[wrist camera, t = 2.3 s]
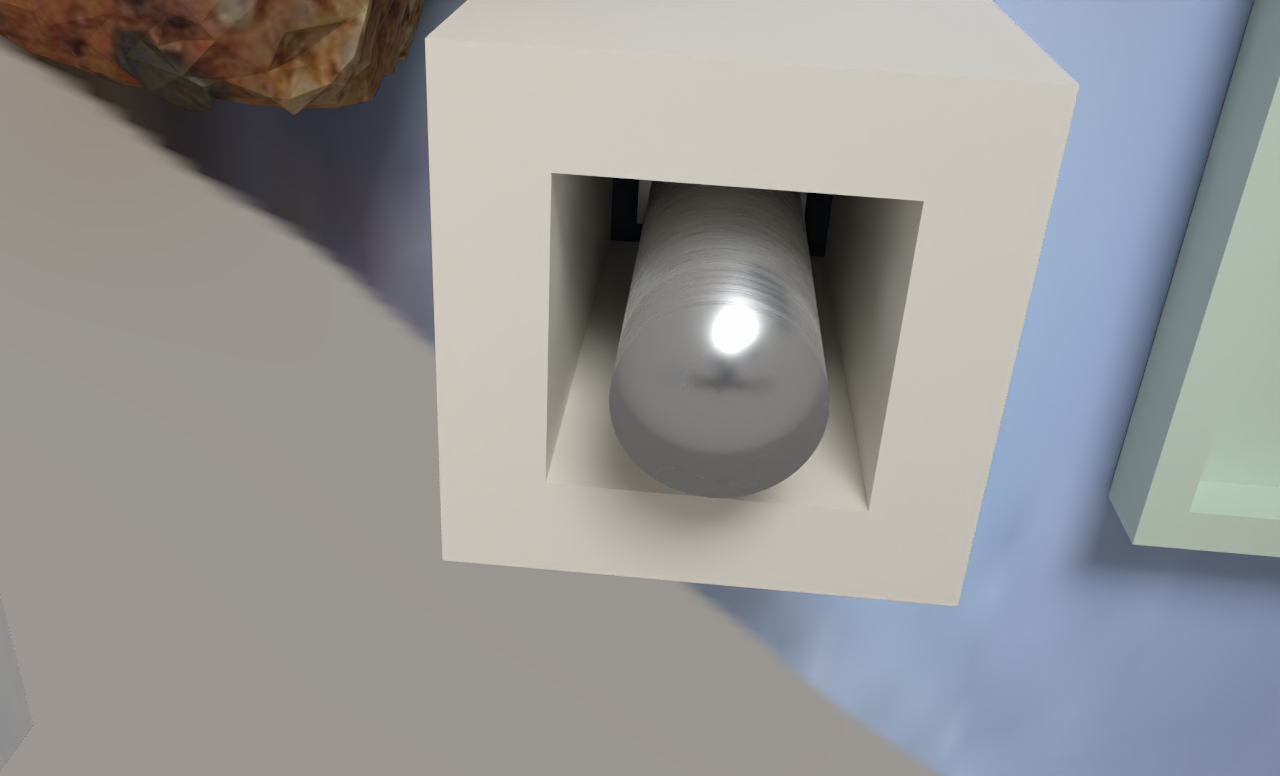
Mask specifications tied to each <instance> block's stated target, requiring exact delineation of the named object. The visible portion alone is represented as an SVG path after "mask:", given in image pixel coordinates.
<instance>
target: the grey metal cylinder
mask: <svg viewBox="0 0 1280 776" xmlns="http://www.w3.org/2000/svg"><path fill="white" fill-rule="evenodd" d="M806 199H807V192H797V191H784V190H771V189H757V188H744V187H731V186H718V185H705V184H692V183H679V182H665V181H652V180H639V193H638V211H637V223H641V224H643V228H642V233H641V238H640V243H639V248H638V253H637V258H636V262H635V267H634V272H633V277H632V282H631V287H630V292H629V297H628V302H627V307H626V312H625V316H624V321H623V326H622V331H621V336H620V341H619V346H618V351H617V356H616V361H615V366H614V371H613V375H612V380H611V386H610V394H609V410H610V415H611V421H612V424H613V427H614V430H615V433H616V435H617V437H618V439H619V441H620V443H621V445H622V447H623V448H624V450H625V451H626V453H627V454H628V456H629V457H630V458H631V459H632V460H633V461H634V462H635V463H636V465H637V466H639V467H640V468H641V469H642V470H643V471H644V472H645V473H647V474H648V475H649V476H651V477H652V478H654V479H655V480H657V481H658V482H660V483H662V484H664V485H666V486H668V487H670V488H673V489H675V490H678V491H681V492H684V493H687V494H691V495H695V496H702V497H709V498H730V497H740V496H745V495H750V494H754V493H757V492H760V491H763V490H766V489H768V488H770V487H772V486H775V485H777V484H778V483H780V482H782V481H784V480H785V479H787V478H788V477H790V476H791V475H792V474H794V473H795V472H796V471H797V470H799V469H800V468H801V467H802V466H803V465H804V464H805V463H806V462H807V461H808V459H809V458H810V457H811V455H812V454H813V453H814V451H815V450H816V448H817V446H818V445H819V443H820V441H821V439H822V437H823V434H824V432H825V429H826V426H827V422H828V417H829V408H830V398H829V387H828V380H827V373H826V366H825V359H824V352H823V345H822V338H821V331H820V324H819V317H818V310H817V303H816V296H815V289H814V282H813V275H812V268H811V261H810V254H809V247H808V240H807V233H806V226H805V219H804V214H805V206H806Z"/></svg>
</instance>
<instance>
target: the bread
mask: <svg viewBox="0 0 1280 776" xmlns="http://www.w3.org/2000/svg"><path fill="white" fill-rule="evenodd" d="M423 2H424V0H0V34H1V35H3V36H5V37H6V38H8V39H9V40H11V41H13V42H14V43H16V44H17V45H19V46H21V47H22V48H24V49H25V50H27V51H29V52H31V53H34V54H37V55H40V56H43V57H46V58H49V59H52V60H55V61H58V62H61V63H64V64H67V65H70V66H73V67H76V68H79V69H82V70H84V71H87V72H89V73H92V74H94V75H97V76H100V77H102V78H105V79H107V80H110V81H113V82H115V83H118V84H120V85H127V86H135V87H142V88H144V89H147V90H149V91H150V92H152V93H154V94H156V95H158V96H160V97H161V98H163V99H165V100H167V101H169V102H171V103H173V104H175V105H177V106H179V107H181V108H182V109H184V110H192V111H200V112H209V113H210V111H211V109H212V107H213V104H214V102H215V100H216V99H221V100H227V101H233V102H239V103H245V104H250V105H268V106H273V107H279V108H284V109H286V110H287V111H289V112H290V113H291V114H293V115H295V114H297V113H298V112H300V111H301V110H303V109H320V108H342V107H346V106H350V105H354V104H358V103H363V102H367V101H371V100H373V99H374V97H375V95H376V93H377V91H378V89H379V87H380V85H381V83H382V81H383V78H384V76H385V75H388V74H391V73H394V72H395V68H396V65H397V61H398V60H406V57H407V54H408V51H409V48H410V45H411V42H412V38H413V35H414V32H415V29H417V26H418V22H419V19H420V15H421V12H422V8H423Z"/></svg>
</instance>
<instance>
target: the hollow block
mask: <svg viewBox="0 0 1280 776" xmlns="http://www.w3.org/2000/svg"><path fill="white" fill-rule="evenodd" d="M425 55H426V85H427V115H428V145H429V175H430V205H431V235H432V265H433V295H434V325H435V355H436V385H437V414H438V445H439V474H440V503H441V504H440V505H441V533H442V534H441V535H442V560H445V561H456V562H467V563H478V564H489V565H502V566H513V567H523V568H534V569H545V570H557V571H568V572H579V573H590V574H602V575H613V576H624V577H635V578H647V579H657V580H669V581H679V582H691V583H702V584H713V585H724V586H735V587H746V588H758V589H769V590H780V591H791V592H802V593H814V594H825V595H836V596H847V597H858V598H869V599H881V600H892V601H903V602H914V603H925V604H936V605H948V606H958V603H959V599H960V594H961V590H962V586H963V582H964V577H965V573H966V569H967V565H968V560H969V556H970V552H971V547H972V543H973V539H974V535H975V530H976V526H977V522H978V518H979V513H980V509H981V505H982V500H983V496H984V492H985V488H986V483H987V479H988V475H989V471H990V466H991V462H992V458H993V453H994V449H995V445H996V441H997V436H998V432H999V428H1000V423H1001V419H1002V415H1003V411H1004V406H1005V402H1006V398H1007V394H1008V389H1009V385H1010V381H1011V376H1012V372H1013V368H1014V364H1015V359H1016V355H1017V351H1018V347H1019V342H1020V338H1021V334H1022V329H1023V325H1024V321H1025V317H1026V312H1027V308H1028V304H1029V299H1030V295H1031V291H1032V287H1033V282H1034V278H1035V274H1036V270H1037V265H1038V261H1039V257H1040V252H1041V248H1042V244H1043V240H1044V235H1045V231H1046V227H1047V223H1048V218H1049V214H1050V210H1051V205H1052V201H1053V197H1054V193H1055V188H1056V184H1057V180H1058V175H1059V171H1060V167H1061V163H1062V158H1063V154H1064V150H1065V146H1066V141H1067V137H1068V133H1069V128H1070V124H1071V120H1072V116H1073V111H1074V107H1075V103H1076V99H1077V94H1078V90H1079V86H1080V85H1079V84H1078V83H1077V82H1076V81H1075V80H1074V79H1073V78H1072V77H1071V76H1070V75H1069V74H1068V73H1067V72H1066V71H1065V70H1063V69H1062V68H1061V67H1060V66H1059V65H1058V64H1057V63H1056V62H1055V61H1054V60H1053V59H1052V58H1051V57H1050V56H1049V55H1048V54H1047V53H1046V52H1045V51H1044V50H1043V49H1042V48H1041V47H1040V46H1038V45H1037V44H1036V43H1035V42H1034V41H1033V40H1032V39H1031V38H1030V37H1029V36H1028V35H1027V34H1026V33H1025V32H1024V31H1023V30H1022V29H1021V28H1020V27H1019V26H1018V25H1017V24H1016V23H1015V22H1013V21H1012V20H1011V19H1010V18H1009V17H1008V16H1007V15H1006V14H1005V13H1004V12H1003V11H1002V10H1001V9H1000V8H999V7H998V6H997V5H996V4H995V3H994V2H993V1H992V0H467V1H466V2H465V3H463V4H462V5H461V6H460V7H459V8H458V9H457V10H456V11H455V12H453V13H452V14H451V15H450V16H449V17H448V18H447V19H446V20H444V21H443V22H442V23H441V24H440V25H439V26H438V27H437V28H436V29H434V30H433V31H432V32H431V33H430V34H429V35H428V36H427V37H425ZM613 178H626V179H639V180H652V181H665V182H679V183H692V184H705V185H718V186H731V187H744V188H757V189H771V190H784V191H797V192H810V193H823V194H833V200H832V207H831V214H830V222H829V229H828V236H827V243H826V250H825V257H820V256H810V261H811V268H812V275H813V282H814V289H815V296H816V303H817V310H818V317H819V324H820V331H821V338H822V345H823V352H824V359H825V366H826V373H827V380H828V387H829V398H830V408H829V417H828V422H827V426H826V429H825V432H824V434H823V437H822V439H821V441H820V443H819V445H818V446H817V448H816V450H815V451H814V453H813V454H812V455H811V457H810V458H809V459H808V461H807V462H806V463H805V464H804V465H803V466H802V467H801V468H800V469H799V470H797V471H796V472H795V473H794V474H792V475H791V476H790V477H788V478H787V479H785V480H784V481H782V482H780V483H778V484H777V485H775V486H772V487H770V488H768V489H766V490H763V491H760V492H757V493H754V494H750V495H745V496H740V497H730V498H709V497H702V496H695V495H691V494H687V493H684V492H681V491H678V490H675V489H673V488H670V487H668V486H666V485H664V484H662V483H660V482H658V481H657V480H655V479H654V478H652V477H651V476H649V475H648V474H647V473H645V472H644V471H643V470H642V469H641V468H640V467H639V466H637V465H636V463H635V462H634V461H633V460H632V459H631V458H630V457H629V456H628V454H627V453H626V451H625V450H624V448H623V447H622V445H621V443H620V441H619V439H618V437H617V435H616V433H615V430H614V427H613V424H612V421H611V415H610V410H609V394H610V386H611V380H612V375H613V371H614V366H615V361H616V356H617V351H618V346H619V341H620V336H621V331H622V326H623V321H624V316H625V312H626V307H627V302H628V297H629V292H630V287H631V282H632V277H633V272H634V267H635V262H636V258H637V253H638V248H639V243H640V242H629V241H616V240H610V232H611V210H612V188H613Z"/></svg>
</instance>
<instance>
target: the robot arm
mask: <svg viewBox="0 0 1280 776" xmlns="http://www.w3.org/2000/svg"><path fill="white" fill-rule="evenodd" d="M33 726H34V725H33V721H32V717H31V713H30V709H29V705H28V701H27V698H26V693H25V689H24V685H23V682H22V678H21V674H20V670H19V666H18V662H17V658H16V654H15V650H14V646H13V643H12V639H11V634H10V631H9V627H8V623H7V619H6V615H5V612H4V607H3V603H2V599H1V595H0V771H1V770H2V769H3V767H4V766H5V764H6V763H7V762H8V760H9V759H10V757H11V756H12V755H13V753H14V752H15V750H16V749H17V748H18V747H19V745H20V744H21V742H22V741H23V740H24V738H25V737H26V735H27V734H28V733H29V731H30V730H31V729H32V727H33Z"/></svg>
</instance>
